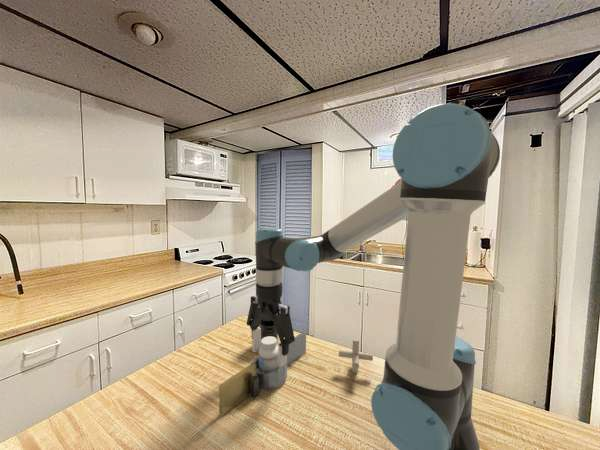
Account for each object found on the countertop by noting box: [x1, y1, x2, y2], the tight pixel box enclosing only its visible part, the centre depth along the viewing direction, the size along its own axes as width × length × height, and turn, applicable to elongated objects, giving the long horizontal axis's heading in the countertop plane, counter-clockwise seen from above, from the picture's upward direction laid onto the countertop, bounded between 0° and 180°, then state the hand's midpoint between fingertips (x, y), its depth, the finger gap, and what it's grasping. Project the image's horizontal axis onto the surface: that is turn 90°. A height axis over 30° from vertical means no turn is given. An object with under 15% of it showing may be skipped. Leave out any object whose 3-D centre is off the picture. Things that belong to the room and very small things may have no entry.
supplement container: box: [258, 314, 279, 344], centre depth 90 cm, size 7×7×10 cm
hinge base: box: [249, 331, 307, 400], centre depth 76 cm, size 10×25×7 cm, turn 140°
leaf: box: [218, 363, 256, 416], centre depth 64 cm, size 1×11×7 cm, turn 143°
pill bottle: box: [258, 336, 280, 372], centre depth 72 cm, size 6×6×11 cm
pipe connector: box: [338, 337, 374, 374], centre depth 76 cm, size 10×10×10 cm
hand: (269, 356), depth 72 cm, fingers open, 10 cm apart
